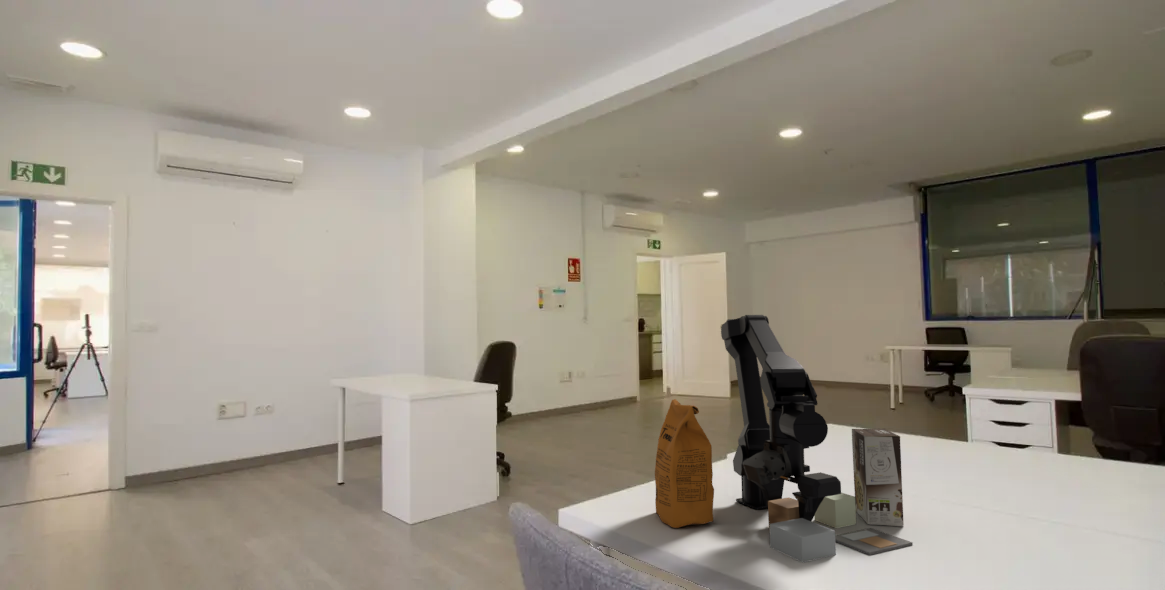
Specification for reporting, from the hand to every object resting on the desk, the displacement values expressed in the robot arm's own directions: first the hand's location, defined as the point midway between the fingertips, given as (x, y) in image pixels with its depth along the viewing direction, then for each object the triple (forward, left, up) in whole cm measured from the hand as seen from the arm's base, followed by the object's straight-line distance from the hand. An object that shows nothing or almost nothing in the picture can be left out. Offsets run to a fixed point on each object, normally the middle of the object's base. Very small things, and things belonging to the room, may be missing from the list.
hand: (789, 524), depth 103 cm
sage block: (0, +11, -1) cm, 11 cm away
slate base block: (+8, -5, -1) cm, 10 cm away
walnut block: (0, 0, -1) cm, 1 cm away
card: (+10, +8, -1) cm, 13 cm away
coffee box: (+2, +20, -1) cm, 20 cm away
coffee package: (-14, -13, -1) cm, 19 cm away
